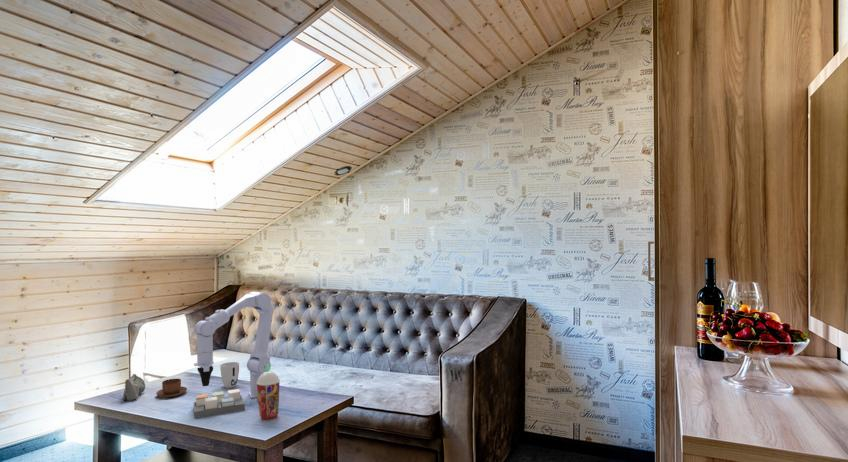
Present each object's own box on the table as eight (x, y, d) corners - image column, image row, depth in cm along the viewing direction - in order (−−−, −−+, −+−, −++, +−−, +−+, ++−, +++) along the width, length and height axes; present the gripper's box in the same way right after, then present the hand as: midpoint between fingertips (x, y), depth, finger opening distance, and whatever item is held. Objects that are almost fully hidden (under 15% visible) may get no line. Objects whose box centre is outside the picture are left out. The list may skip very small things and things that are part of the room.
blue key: (232, 406, 203) (232, 397, 203) (234, 409, 199) (233, 400, 199) (221, 408, 201) (221, 399, 201) (222, 411, 197) (222, 402, 197)
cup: (233, 389, 228) (232, 366, 228) (216, 388, 229) (216, 366, 229) (243, 383, 236) (242, 362, 236) (227, 383, 237) (226, 361, 237)
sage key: (223, 400, 207) (223, 391, 207) (224, 403, 203) (224, 394, 203) (212, 401, 205) (212, 392, 205) (213, 404, 201) (212, 395, 201)
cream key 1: (216, 405, 200) (216, 396, 200) (217, 408, 197) (217, 399, 197) (205, 407, 198) (204, 398, 199) (205, 410, 195) (205, 401, 195)
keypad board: (241, 400, 211) (240, 394, 211) (244, 409, 200) (244, 403, 200) (193, 408, 203) (193, 402, 203) (194, 418, 192) (194, 411, 192)
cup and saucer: (157, 393, 225) (156, 379, 225) (187, 389, 230) (186, 375, 230) (155, 401, 214) (155, 386, 214) (187, 396, 219) (186, 382, 219)
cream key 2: (239, 397, 210) (238, 388, 210) (240, 400, 206) (240, 391, 206) (228, 399, 208) (228, 390, 208) (229, 402, 204) (229, 393, 204)
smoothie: (280, 420, 188) (279, 366, 188) (257, 423, 185) (255, 368, 186) (280, 412, 196) (279, 360, 196) (257, 415, 193) (256, 362, 194)
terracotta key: (207, 402, 204) (207, 393, 204) (208, 405, 201) (207, 396, 201) (196, 404, 203) (195, 395, 203) (196, 407, 199) (196, 398, 199)
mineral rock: (141, 390, 229) (140, 368, 229) (158, 393, 225) (157, 370, 225) (113, 399, 217) (113, 376, 217) (131, 402, 213) (130, 378, 213)
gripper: (193, 349, 206) (193, 382, 206) (194, 356, 193) (195, 392, 193) (211, 346, 209) (212, 380, 209) (214, 354, 196) (215, 389, 196)
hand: (205, 385), depth 201 cm, fingers closed
